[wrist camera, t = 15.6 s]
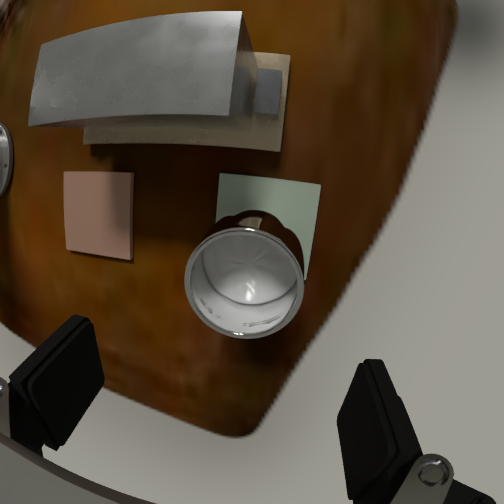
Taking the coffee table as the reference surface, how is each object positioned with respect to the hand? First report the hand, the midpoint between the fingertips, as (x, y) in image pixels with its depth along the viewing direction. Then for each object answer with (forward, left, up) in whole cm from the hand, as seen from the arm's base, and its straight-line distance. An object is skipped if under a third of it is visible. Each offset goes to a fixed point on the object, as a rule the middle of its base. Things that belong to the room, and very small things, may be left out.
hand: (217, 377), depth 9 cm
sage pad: (0, 0, -23) cm, 23 cm away
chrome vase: (0, 0, -22) cm, 22 cm away
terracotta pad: (-13, +15, -23) cm, 30 cm away
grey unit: (+3, +16, -23) cm, 28 cm away
